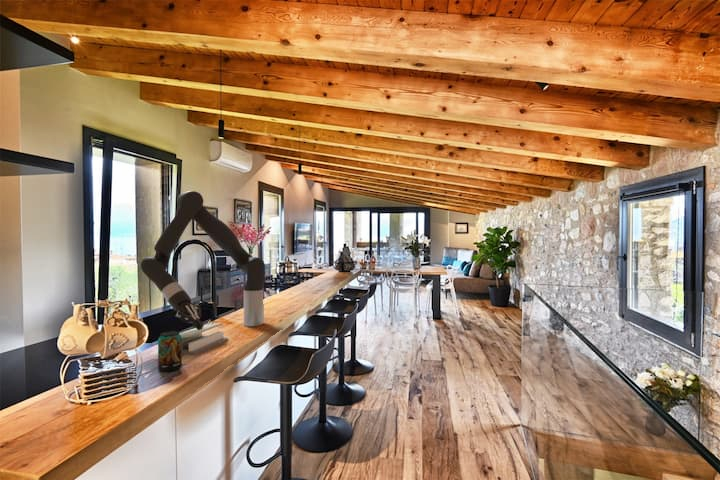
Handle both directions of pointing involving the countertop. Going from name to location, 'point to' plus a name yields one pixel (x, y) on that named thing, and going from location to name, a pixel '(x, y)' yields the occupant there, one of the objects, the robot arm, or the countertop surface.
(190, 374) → the countertop surface
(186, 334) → the cover
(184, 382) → the countertop surface
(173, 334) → the beverage can
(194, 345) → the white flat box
